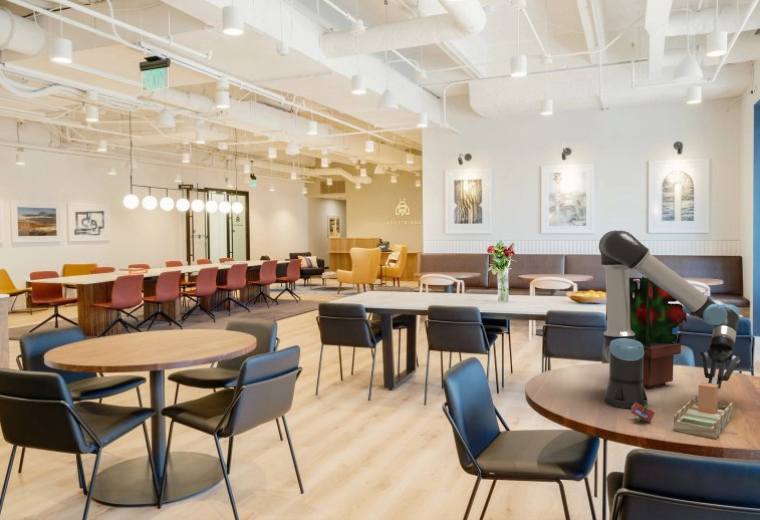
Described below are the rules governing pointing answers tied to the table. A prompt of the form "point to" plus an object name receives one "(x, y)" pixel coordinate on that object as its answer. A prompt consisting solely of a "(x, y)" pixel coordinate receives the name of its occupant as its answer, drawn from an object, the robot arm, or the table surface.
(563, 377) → the table surface
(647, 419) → the icosahedron model
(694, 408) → the beige open frame
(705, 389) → the block
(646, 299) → the potted plant
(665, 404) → the table surface
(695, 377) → the table surface
